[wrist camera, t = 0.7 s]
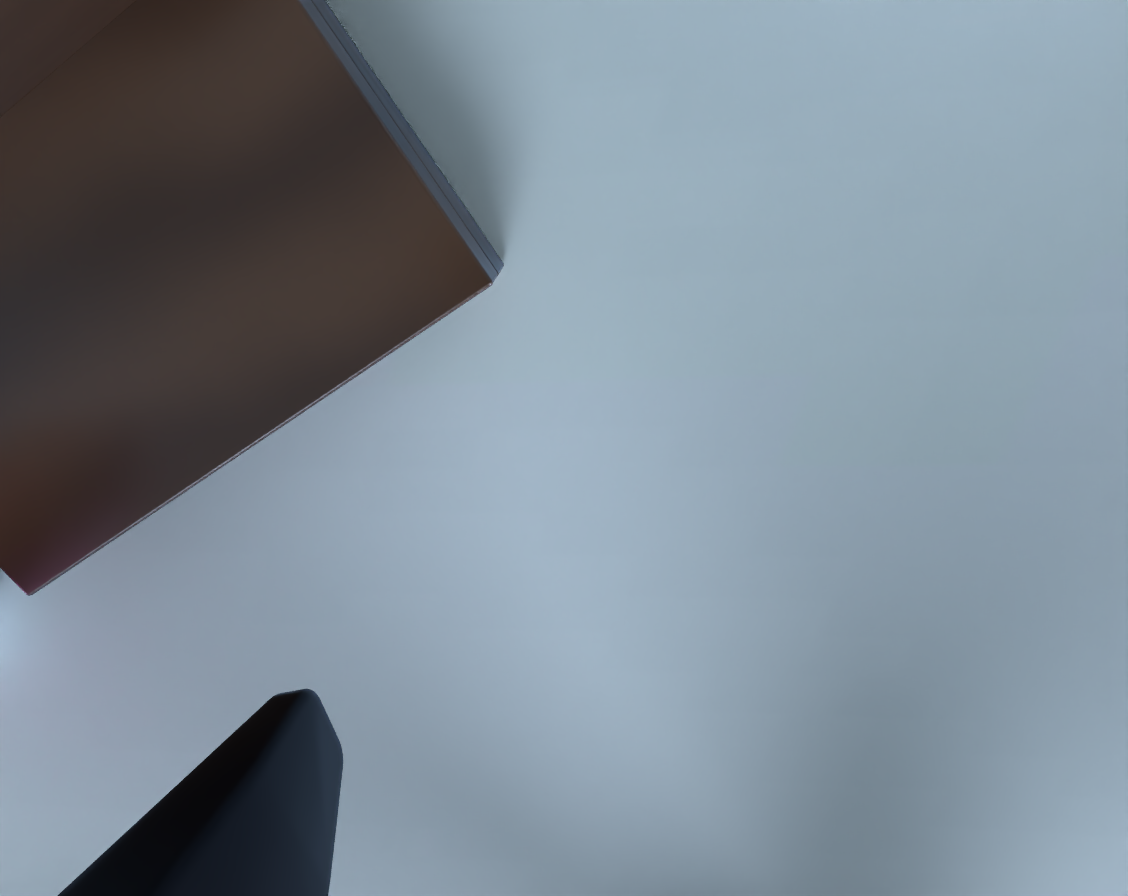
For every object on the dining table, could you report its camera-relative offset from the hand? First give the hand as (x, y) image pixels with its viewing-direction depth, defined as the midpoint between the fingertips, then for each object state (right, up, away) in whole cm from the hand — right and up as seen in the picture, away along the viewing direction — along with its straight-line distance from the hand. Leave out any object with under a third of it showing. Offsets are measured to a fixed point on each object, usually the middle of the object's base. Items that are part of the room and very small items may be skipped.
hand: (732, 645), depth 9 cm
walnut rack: (-12, +7, +13) cm, 19 cm away
